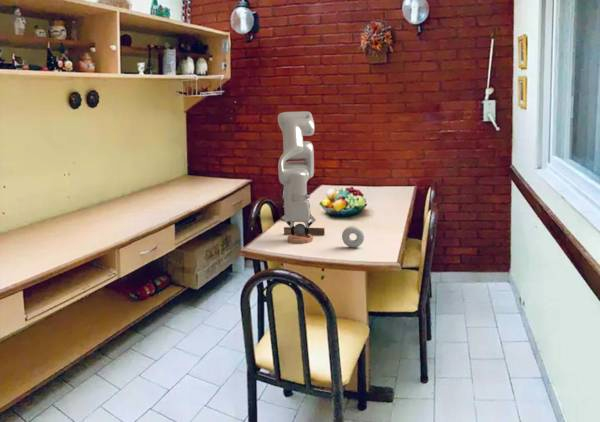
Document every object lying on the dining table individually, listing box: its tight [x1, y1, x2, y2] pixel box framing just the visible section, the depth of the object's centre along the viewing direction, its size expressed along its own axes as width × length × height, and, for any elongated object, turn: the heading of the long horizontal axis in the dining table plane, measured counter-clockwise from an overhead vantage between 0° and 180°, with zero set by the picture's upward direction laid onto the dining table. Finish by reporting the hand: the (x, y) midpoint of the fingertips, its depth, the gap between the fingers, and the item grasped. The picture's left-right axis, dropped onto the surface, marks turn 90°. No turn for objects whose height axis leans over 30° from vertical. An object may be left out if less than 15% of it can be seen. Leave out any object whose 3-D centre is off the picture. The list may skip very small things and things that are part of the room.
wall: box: [283, 226, 326, 237], centre depth 273 cm, size 1×20×4 cm, turn 79°
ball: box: [294, 223, 306, 236], centre depth 262 cm, size 6×6×6 cm
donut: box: [341, 225, 365, 248], centre depth 249 cm, size 10×3×10 cm, turn 76°
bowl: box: [287, 234, 314, 245], centre depth 263 cm, size 12×12×2 cm
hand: (300, 234), depth 263 cm, fingers closed on ball, 5 cm apart
